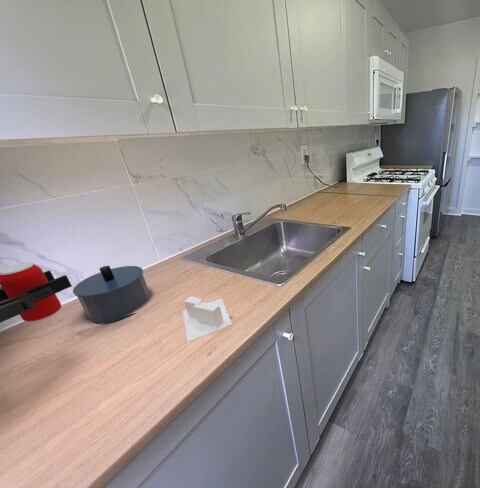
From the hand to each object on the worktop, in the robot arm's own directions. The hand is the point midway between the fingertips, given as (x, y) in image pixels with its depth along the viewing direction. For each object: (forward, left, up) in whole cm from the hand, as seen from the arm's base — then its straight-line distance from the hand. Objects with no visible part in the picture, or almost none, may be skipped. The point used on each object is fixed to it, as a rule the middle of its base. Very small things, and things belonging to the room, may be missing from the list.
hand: (59, 278), depth 60 cm
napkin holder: (+26, +1, -20) cm, 33 cm away
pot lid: (+1, +17, -10) cm, 20 cm away
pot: (+1, +17, -20) cm, 26 cm away
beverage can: (-3, -4, -7) cm, 8 cm away
